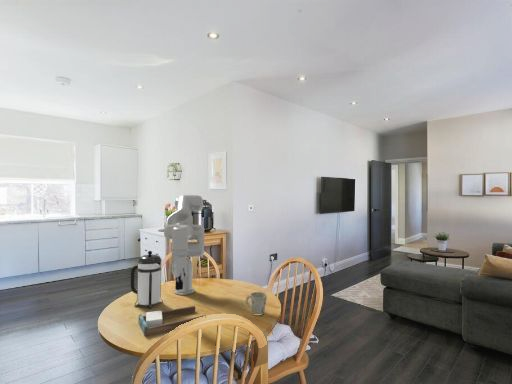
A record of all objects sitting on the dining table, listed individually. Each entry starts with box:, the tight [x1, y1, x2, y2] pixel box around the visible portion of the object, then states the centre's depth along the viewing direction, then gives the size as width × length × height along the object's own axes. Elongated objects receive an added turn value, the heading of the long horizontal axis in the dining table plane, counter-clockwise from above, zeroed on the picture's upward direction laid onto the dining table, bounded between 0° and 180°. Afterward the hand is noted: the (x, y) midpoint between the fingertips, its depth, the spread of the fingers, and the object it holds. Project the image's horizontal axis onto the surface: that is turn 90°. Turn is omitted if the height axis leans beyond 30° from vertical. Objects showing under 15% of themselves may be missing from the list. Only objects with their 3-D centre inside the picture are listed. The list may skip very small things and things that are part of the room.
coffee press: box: [130, 250, 163, 310], centre depth 161 cm, size 17×16×30 cm
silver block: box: [145, 310, 163, 328], centre depth 135 cm, size 10×7×5 cm
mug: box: [245, 291, 268, 314], centre depth 151 cm, size 8×13×10 cm, turn 58°
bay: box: [138, 305, 206, 337], centre depth 138 cm, size 15×28×4 cm, turn 122°
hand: (179, 289), depth 141 cm, fingers closed
